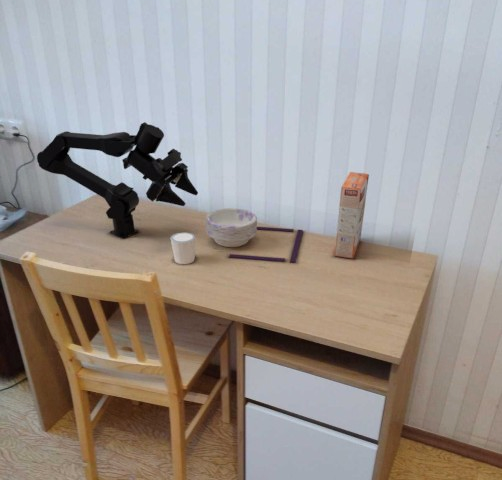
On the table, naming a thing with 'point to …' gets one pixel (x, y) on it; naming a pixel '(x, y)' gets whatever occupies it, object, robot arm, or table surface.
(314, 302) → the table surface
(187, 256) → the shot glass
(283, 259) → the frame
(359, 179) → the cracker box
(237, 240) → the paper bowls
